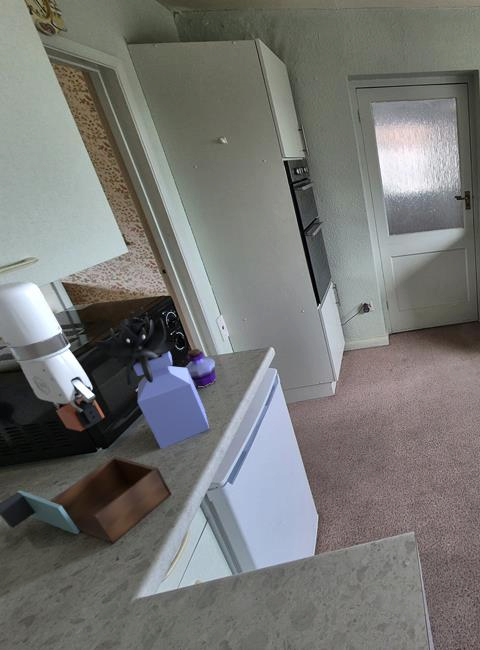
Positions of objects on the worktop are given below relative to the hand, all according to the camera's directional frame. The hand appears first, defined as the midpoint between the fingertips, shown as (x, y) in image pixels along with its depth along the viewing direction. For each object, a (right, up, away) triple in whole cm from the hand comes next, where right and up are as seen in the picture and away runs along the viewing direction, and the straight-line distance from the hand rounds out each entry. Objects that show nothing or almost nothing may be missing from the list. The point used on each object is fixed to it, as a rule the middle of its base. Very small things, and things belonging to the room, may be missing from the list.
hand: (85, 421), depth 80 cm
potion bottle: (-3, 0, +43) cm, 43 cm away
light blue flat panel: (-3, -21, -5) cm, 22 cm away
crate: (+8, -18, 0) cm, 20 cm away
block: (0, 0, 0) cm, 0 cm away
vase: (+5, -9, +22) cm, 25 cm away
